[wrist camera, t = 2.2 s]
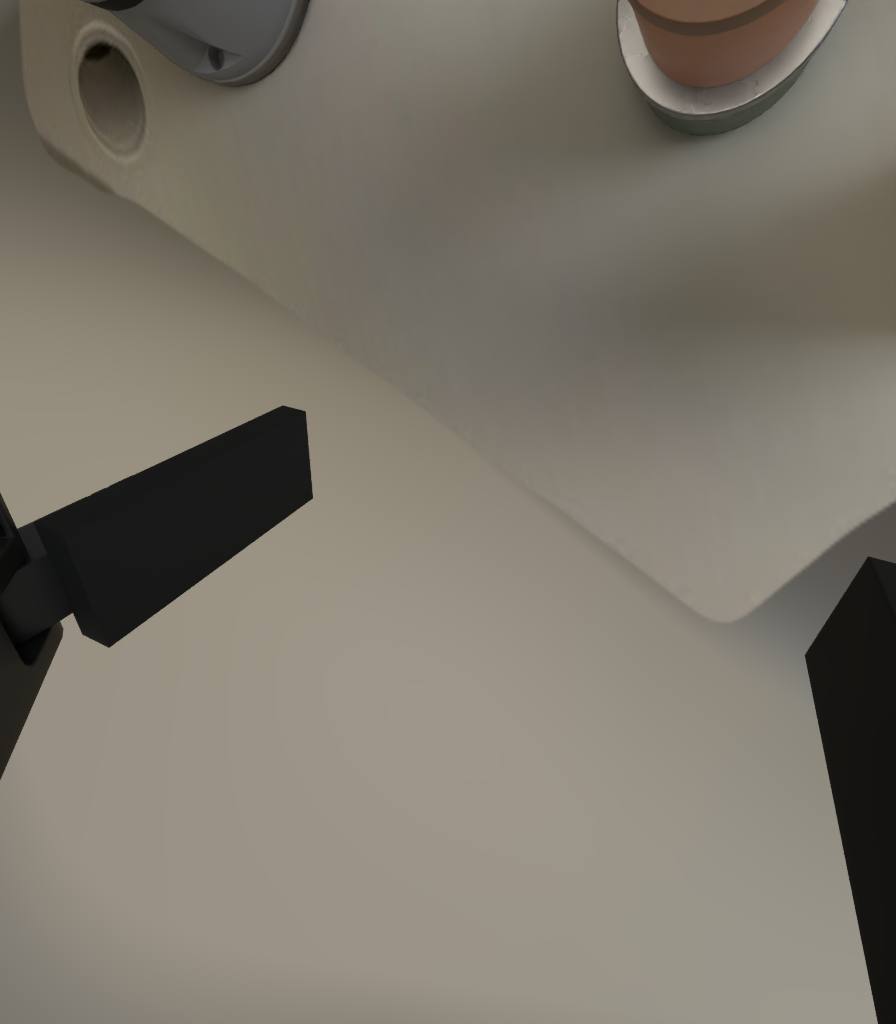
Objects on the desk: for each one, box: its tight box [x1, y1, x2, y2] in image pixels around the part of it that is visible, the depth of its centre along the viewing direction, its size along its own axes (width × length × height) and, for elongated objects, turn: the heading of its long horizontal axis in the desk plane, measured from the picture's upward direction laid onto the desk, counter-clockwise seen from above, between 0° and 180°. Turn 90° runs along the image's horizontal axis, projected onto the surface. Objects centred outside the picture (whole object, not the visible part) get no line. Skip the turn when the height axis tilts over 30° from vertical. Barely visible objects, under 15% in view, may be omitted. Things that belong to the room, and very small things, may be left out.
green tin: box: [616, 0, 848, 136], centre depth 23 cm, size 9×9×7 cm
